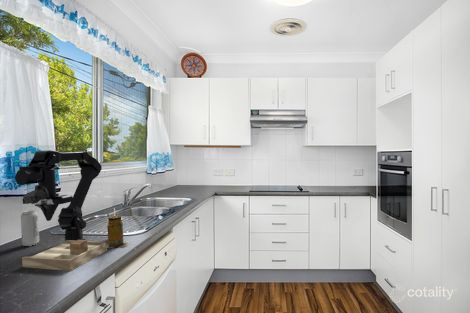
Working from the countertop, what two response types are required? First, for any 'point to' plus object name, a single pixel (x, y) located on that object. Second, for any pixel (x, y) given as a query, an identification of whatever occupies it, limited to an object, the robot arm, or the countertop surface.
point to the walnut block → (78, 247)
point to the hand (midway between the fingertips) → (48, 220)
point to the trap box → (63, 256)
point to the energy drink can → (29, 228)
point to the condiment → (115, 232)
